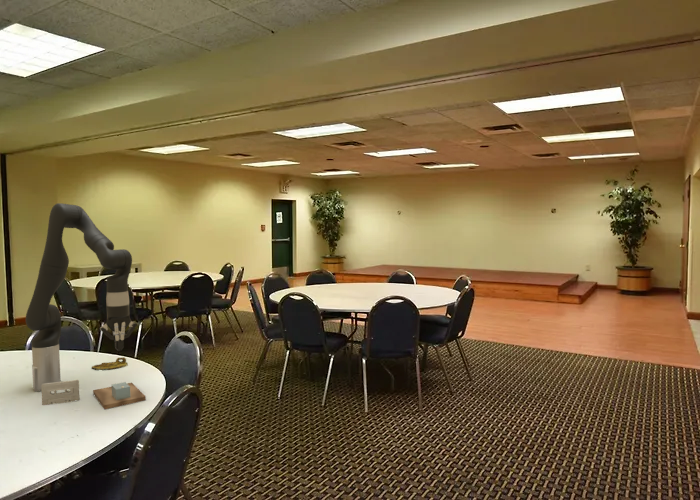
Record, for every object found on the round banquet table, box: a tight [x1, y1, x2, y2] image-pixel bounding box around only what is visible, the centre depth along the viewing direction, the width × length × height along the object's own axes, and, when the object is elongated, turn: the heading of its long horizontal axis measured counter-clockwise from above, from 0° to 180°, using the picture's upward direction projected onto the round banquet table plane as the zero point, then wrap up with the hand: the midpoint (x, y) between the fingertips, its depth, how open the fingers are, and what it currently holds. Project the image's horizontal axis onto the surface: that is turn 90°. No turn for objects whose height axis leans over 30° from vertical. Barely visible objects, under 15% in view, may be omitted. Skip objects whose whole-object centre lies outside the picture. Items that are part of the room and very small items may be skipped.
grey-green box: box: [111, 381, 130, 400], centre depth 179 cm, size 7×5×4 cm
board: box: [92, 382, 147, 410], centre depth 183 cm, size 14×20×4 cm
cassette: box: [41, 379, 81, 406], centre depth 178 cm, size 12×2×8 cm, turn 113°
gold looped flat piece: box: [91, 357, 129, 371], centre depth 221 cm, size 9×5×15 cm
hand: (119, 350), depth 179 cm, fingers closed
